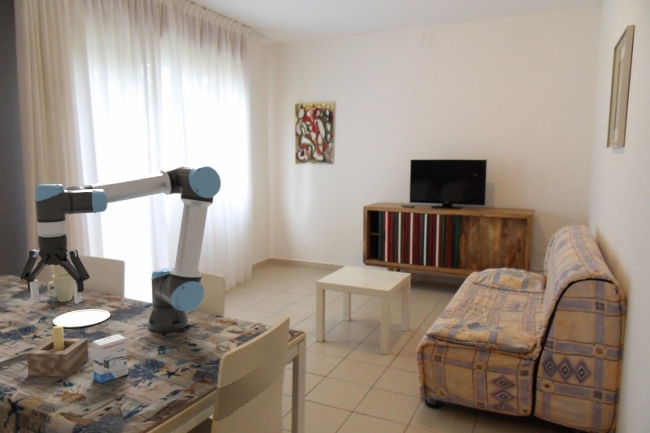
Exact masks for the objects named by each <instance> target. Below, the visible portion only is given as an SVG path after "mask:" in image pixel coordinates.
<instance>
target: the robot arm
mask: <svg viewBox="0 0 650 433" xmlns="http://www.w3.org/2000/svg"><path fill="white" fill-rule="evenodd" d="M221 186H222V181H221V177H220V174H218V172H217V171H216V169H214V168H213V167H212V166H208V165H205V164H183V165H179V166H176V167H175V166H174V167H171V168H167V169H162V170H160V171H159V172H158V173H151V174H147V175H146V174H145V175H140V176H133V177H127V178H122V179H115V180H110V181H103V182H97V183H91V184H85V185H78V186H76V185H72V186H68V187H66V188H65V187H64V185H63V184H62V183H43V184H37V185H36V186H35V187H34V192H35V194H34V195H35V196H34V197H35V198H34V202H35V212H36V230H37V235H38V237H37V240H38V242H37V243H38V248H39V250H38V249H37V248H34V249H32V250H29V251H28V258H27V261H26V262H25V265H24V267H23V270H22V272H21V274H20V277H19V278H20V280H22V281H23V280H24V281H26V283H27V291H28V292H30V302H31V304H34V303H36V302H38V301H40V292H39V290H40V289H39V280H38V279H37V277H38V276H39V275H40V273H41V272H42V271H43V269H45V267H46V266H60V267H61V268H63V269H64V270H65V272H66V273H69V274H70V276H71V277H72V278H73V279H74V280H75V283H74V292H73V296H74V304H75V305H76V304H77V305H78V304H79V303H81V302H82V301H83V292H84V290H85V287H84V284H85V283H84V282H85V281H87V280H89V279H90V274H89V273H88V271H87V269H86V267H85V266H84V263H83V262H82V260H81V259H80V257H79V252H78V249H73V250H68V240H67V238H68V237H67V234H66V233H67V223H66V222H67V221H66V215H74V214H75V215H77V214H97V213H103V212H105V211H106V210H107V208H108V204H110V203H111V204H112V203H116V202H121V201H127V200H132V199H137V198H143V197H147V196H153V195H159V194H163V193H164V195H166V196H167V195H174V194H178V195H180V200H181V201H182V203H183V208H182V215H181V222H180V231H179V235H178V236H179V237H178V244H177V250H176V256H175V263H174V264H175V265H174V267H165V268H159V269H156V270H153V271H152V273H151V297H152V298H151V301H152V308H151V312H150V315H149V318H148V322H147V328H148V329H149V330H150V331H153V332H159V333H169V332H170V333H171V332H175V331H179V329H180V330H182V329H184V328H186V327H188V326H189V325H188V324H189V316H188V314H187V312H191V311H194V310H195V309H196V308H198V307H199V306H200V305H201V304H202V303H203V300H204V297H205V289H204V287H203V285H202V284H201V282H202V277H203V274H202V273H201V272H200V270H199V268H200V262H201V254H202V248H203V241H204V234H205V227H206V220H207V215H208V208H209V207H210V206H211V205H212V204H213V202H214V197H215V196H216V195H217V194H218V193H219V192H220V190H221ZM38 257H40V258H41V259H40V260H39V261H38V262H37V260H38ZM36 263H38V264H37V265H36ZM35 265H36V266H35ZM34 266H35V268H34Z"/></svg>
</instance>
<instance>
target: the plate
mask: <svg viewBox="0 0 650 433" xmlns="http://www.w3.org/2000/svg"><path fill="white" fill-rule="evenodd" d="M110 317H111V313H110V312H109V311H107V310H106V309H98V308H96V309H95V308H89V309H85V308H84V309H77V310H73V311H69V312H65V313H63V314H61V315H60V314H59V315H58V316H56V317H55V318H54V319H53V320H52V324H53V325H54V326H59V325H61V326H63V329H71V328H73V329H74V328H85V327H89V326H96V325H98V324H101V323H102V322H105V321H106V320H108V319H110Z"/></svg>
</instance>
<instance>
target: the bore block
mask: <svg viewBox="0 0 650 433" xmlns="http://www.w3.org/2000/svg"><path fill="white" fill-rule="evenodd" d="M88 341H89V340H88V338H72V337H71V338H69V337H64V351H54V342H53V337H51V338H49V339H47V340H46V341H44V342H42V343H41V344H40V345H38V346H36V347H34V348H33V349H32V350H30V351H28V352H27V353H26V360H27V361H26V362H27V375H28V376H37V377H38V376H43V377H44V376H45V377H69V376H70V375H71V374H72V373H73V372H75V371H76V370H77V369H78V368H79V367H81V366H82V365H83V364H84V363H86V362H87V361H88V360H89V346H88Z"/></svg>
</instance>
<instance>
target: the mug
mask: <svg viewBox="0 0 650 433" xmlns="http://www.w3.org/2000/svg"><path fill="white" fill-rule="evenodd" d="M75 282H76V281H75V280H74V279H73V278H72V277H71V276H70V274H69V273H68V272H61V273H55V274H53V275H52V281H49V282H47V286H46V288H47V291H48V293H49V294H51V295H52V296H54V297H56V298H57V299H58V300H57V301H58V302H60V303H65V302H70V301H71V300H72V298H73V296H74V283H75ZM52 284H53V290H54V292H55V293H54V292H52V291H51V285H52Z"/></svg>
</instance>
